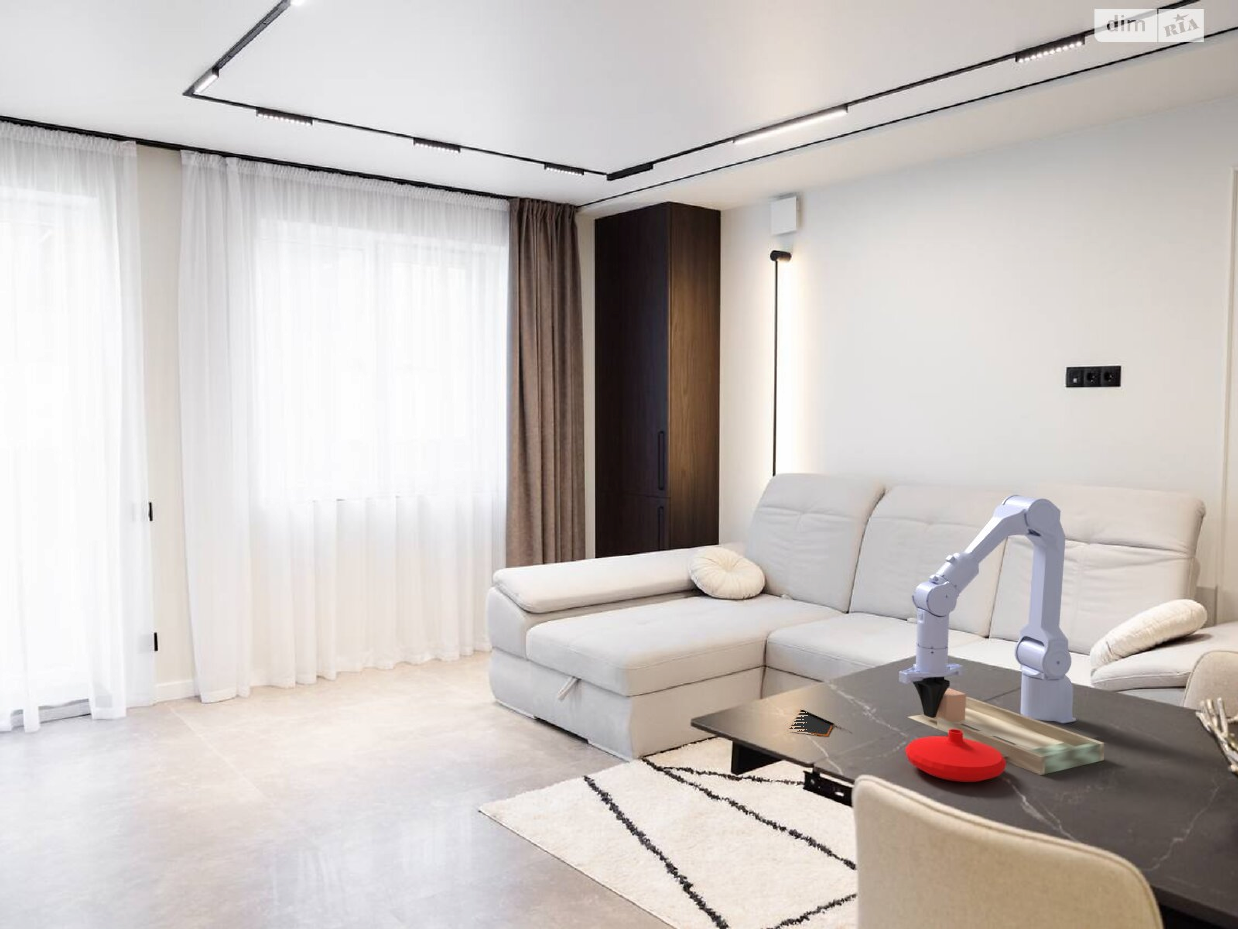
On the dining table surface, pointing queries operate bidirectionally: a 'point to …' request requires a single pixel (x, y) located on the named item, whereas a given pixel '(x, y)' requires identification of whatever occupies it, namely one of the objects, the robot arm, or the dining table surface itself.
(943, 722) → the tray
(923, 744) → the red disc with nozzle
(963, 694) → the peach block
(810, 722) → the smartphone
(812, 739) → the dining table surface
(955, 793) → the dining table surface
